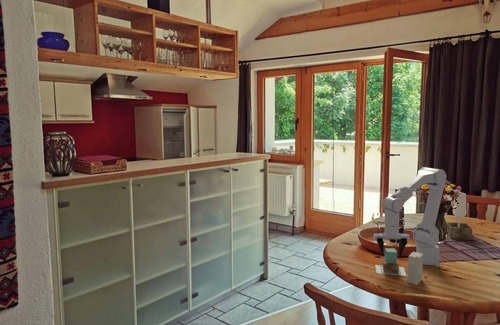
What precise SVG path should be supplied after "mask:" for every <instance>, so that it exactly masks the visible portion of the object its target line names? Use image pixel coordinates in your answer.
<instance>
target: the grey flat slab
mask: <svg viewBox="0 0 500 325" xmlns="http://www.w3.org/2000/svg"><path fill="white" fill-rule="evenodd" d="M374 266H375V272H376V274H379V275H380V274H381V275H384V274H385V275H393V276H404V277H407V273H406V269H405V267H403V266H399V274H397V273H386V272H384V271H383V264H382V265H381V264H375V265H374Z"/></svg>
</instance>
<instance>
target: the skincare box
mask: <svg viewBox="0 0 500 325" xmlns="http://www.w3.org/2000/svg"><path fill="white" fill-rule="evenodd" d="M407 260H408V261H407V273H406V283H409V284H413V285H416V286H418V285H419V283H421V282H422V280H423V279H422V278H423V267H424V266H423V254H422V253H417V252H415V251H412V252H411V253H410V254H409V255H408V258H407Z"/></svg>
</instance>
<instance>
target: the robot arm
mask: <svg viewBox="0 0 500 325" xmlns="http://www.w3.org/2000/svg"><path fill="white" fill-rule="evenodd" d="M447 176H448V175H447V174H446V171H445V170H444V169H443V168H441V169H439V168H433V167H432V168H431V167H426V166H423V167H421V168H420V169H419V170H418V171H417V175H416V176H415V177H414V178H413V179H412V180H411V181H410V182H409V183H408V184H407V185H404V186H402V185H401V186H400V187H399V188H398V190H396V191H395V192H394V193H392V194H391V196H387V197H385V198H384V199H383V201H382V203H381V205H382V209H383V212H384V232H381V233H373V239H374V240H375V241H376V243H377V245H378V248H379V253H380V256H382V257H384V245H385V242H384V240H398V255H399V257H402V256H403V252H404V250H405V247H406V246H407V244H408V241H409V240H410V234H408V233H400V211H402V210H403V207H404V206H405V203H406V202H407V201H409V200H410V199H411V198H412V197H413V192H415V191H416V190H417V189H419V188H420V187H422V186H423V185H424V184H425V185H427V187H428V188H429V191H428V192H429V193H428V196H427V200H426V205H425V209H424V212H423V216H422V220H421V222H420V223H417V225H415V229H414V230H413V233H412V238H413V240H414V241H415V244H416V250H415V251H416V252H417V253H422V254H423V265H425V266H435V267H436V268H440V255H441V254H440V253H441V252H440V246H439V245H438V244H439V240H440V238H439V236H440V230H439V229H438V227H436V222H437V217H438V213H439V209H440V205H441V202H442V196H443V192H444V188H445V186H446V181H447Z"/></svg>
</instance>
